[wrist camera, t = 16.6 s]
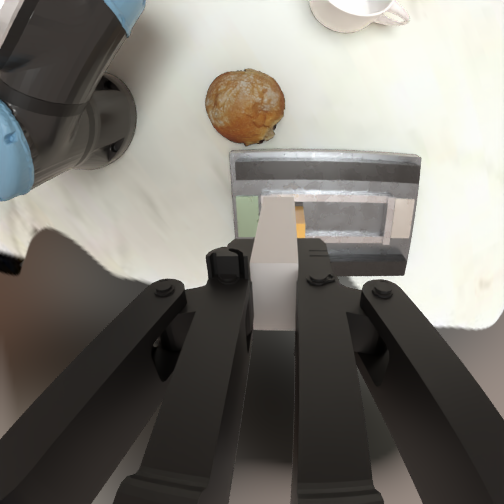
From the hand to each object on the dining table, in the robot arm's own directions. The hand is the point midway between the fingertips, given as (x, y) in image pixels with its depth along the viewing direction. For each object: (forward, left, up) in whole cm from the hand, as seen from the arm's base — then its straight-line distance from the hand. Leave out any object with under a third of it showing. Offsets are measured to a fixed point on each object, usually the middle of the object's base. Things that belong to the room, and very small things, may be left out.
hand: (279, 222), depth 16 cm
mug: (+10, +19, -29) cm, 36 cm away
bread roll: (-5, +5, -29) cm, 30 cm away
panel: (+6, -10, -28) cm, 31 cm away
